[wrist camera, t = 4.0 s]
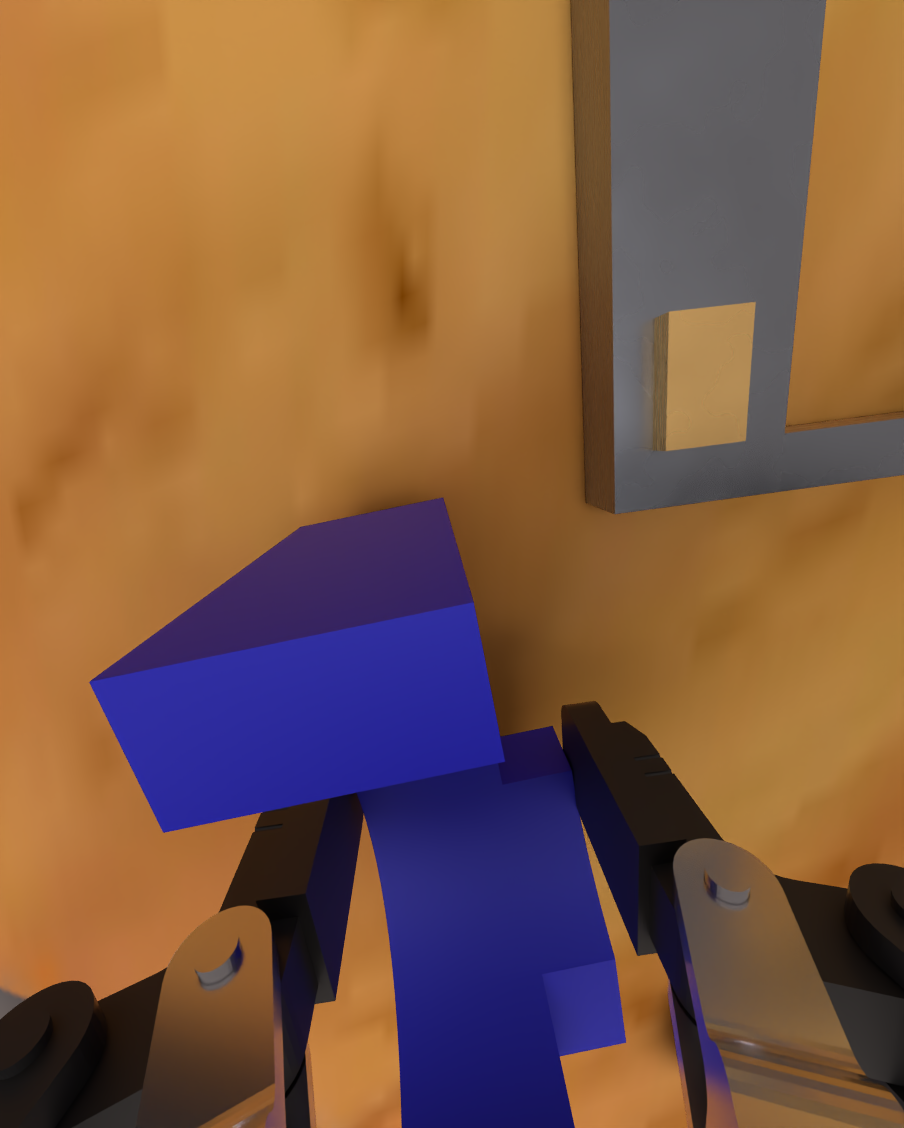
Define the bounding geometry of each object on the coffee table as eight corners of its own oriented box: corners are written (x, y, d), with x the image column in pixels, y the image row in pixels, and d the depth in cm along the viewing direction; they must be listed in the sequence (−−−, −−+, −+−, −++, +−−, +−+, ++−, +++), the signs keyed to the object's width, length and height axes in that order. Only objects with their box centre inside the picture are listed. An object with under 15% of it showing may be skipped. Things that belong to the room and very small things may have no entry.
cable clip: (579, 903, 13) (711, 1299, 7) (424, 935, 13) (423, 1359, 7) (514, 483, 9) (665, 562, 3) (300, 527, 9) (89, 681, 3)
